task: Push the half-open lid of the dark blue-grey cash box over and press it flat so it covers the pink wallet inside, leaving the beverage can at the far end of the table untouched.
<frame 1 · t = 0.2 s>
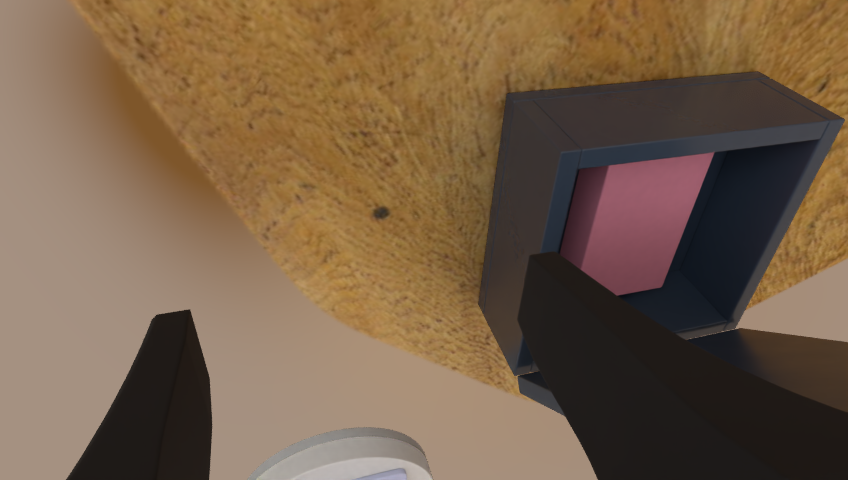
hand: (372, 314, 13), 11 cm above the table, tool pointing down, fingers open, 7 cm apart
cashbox: (607, 196, 28), on the table
lid: (732, 383, 22), point 10 cm above the table, hinge at 50.0°
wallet: (616, 205, 28), point 1 cm above the table, touching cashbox
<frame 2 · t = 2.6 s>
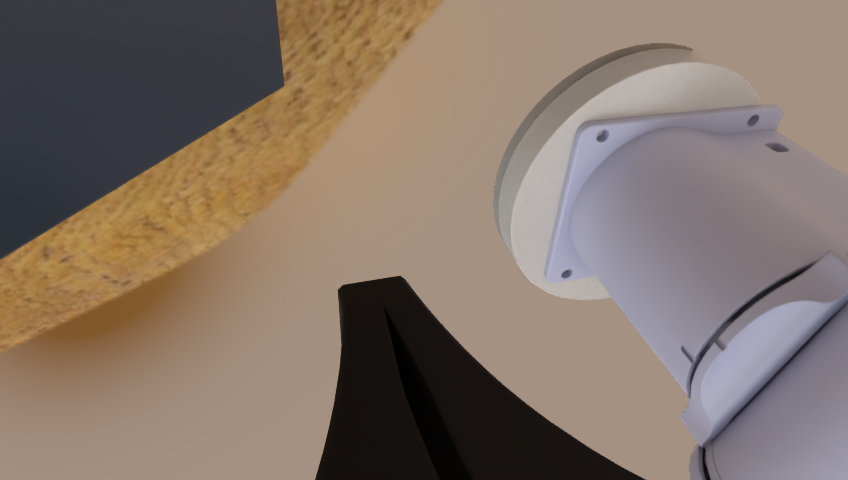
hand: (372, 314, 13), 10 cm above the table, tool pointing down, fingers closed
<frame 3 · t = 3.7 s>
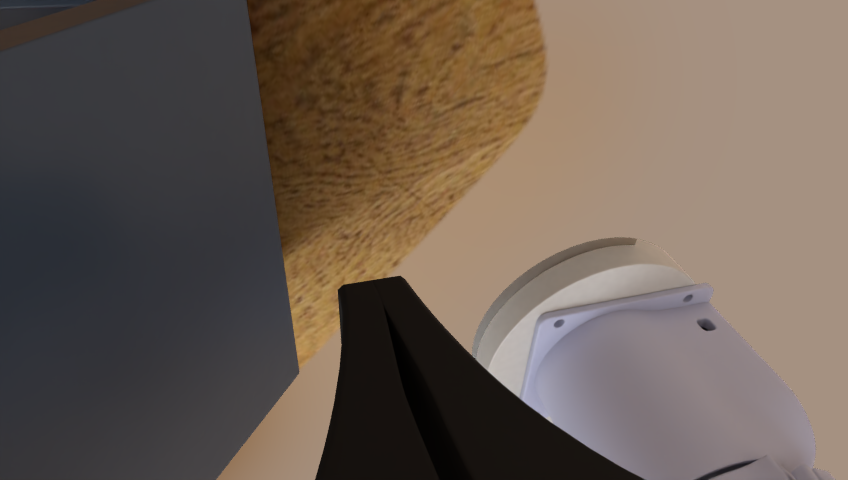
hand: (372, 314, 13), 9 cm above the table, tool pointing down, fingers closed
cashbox: (56, 143, 18), on the table
lid: (66, 389, 11), point 10 cm above the table, hinge at 50.0°
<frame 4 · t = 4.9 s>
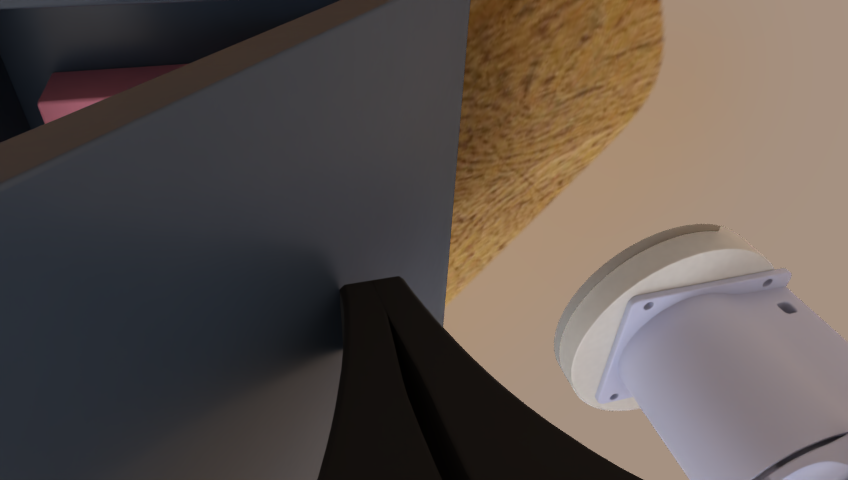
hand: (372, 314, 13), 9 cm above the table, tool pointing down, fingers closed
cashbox: (221, 127, 19), on the table
lid: (308, 333, 12), point 10 cm above the table, hinge at 45.6°, touching gripper
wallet: (221, 139, 18), point 1 cm above the table, touching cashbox
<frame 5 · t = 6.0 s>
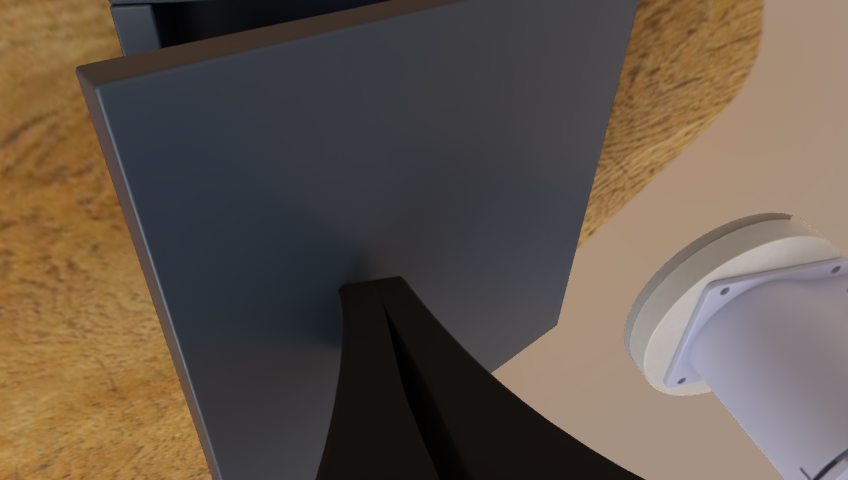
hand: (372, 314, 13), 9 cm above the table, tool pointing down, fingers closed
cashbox: (356, 115, 20), on the table
lid: (430, 257, 14), point 8 cm above the table, hinge at 25.2°, touching gripper
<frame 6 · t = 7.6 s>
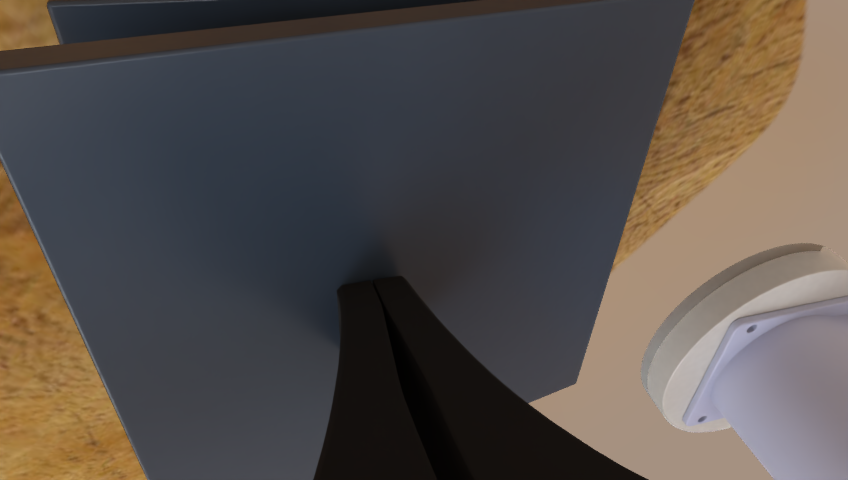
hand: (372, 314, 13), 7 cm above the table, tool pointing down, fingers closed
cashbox: (357, 152, 18), on the table
lid: (401, 289, 13), point 6 cm above the table, hinge at 9.8°, touching gripper
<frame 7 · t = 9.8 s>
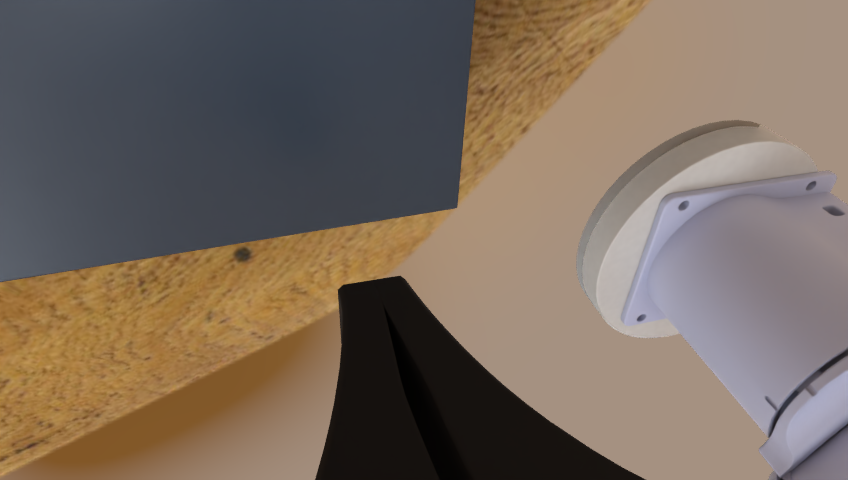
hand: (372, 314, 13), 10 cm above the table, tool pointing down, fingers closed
lid: (197, 3, 12), point 5 cm above the table, hinge at 1.9°
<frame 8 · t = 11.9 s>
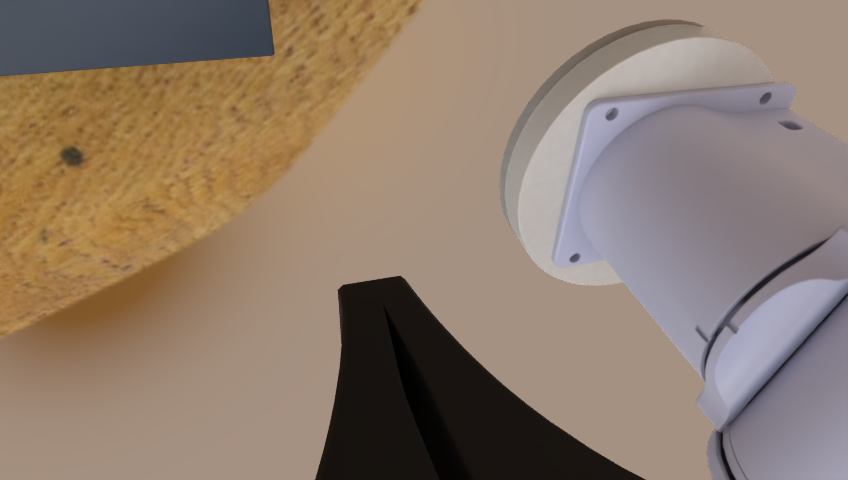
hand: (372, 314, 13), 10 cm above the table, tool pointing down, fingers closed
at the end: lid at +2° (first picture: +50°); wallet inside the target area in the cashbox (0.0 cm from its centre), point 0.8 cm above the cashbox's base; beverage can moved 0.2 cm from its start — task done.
